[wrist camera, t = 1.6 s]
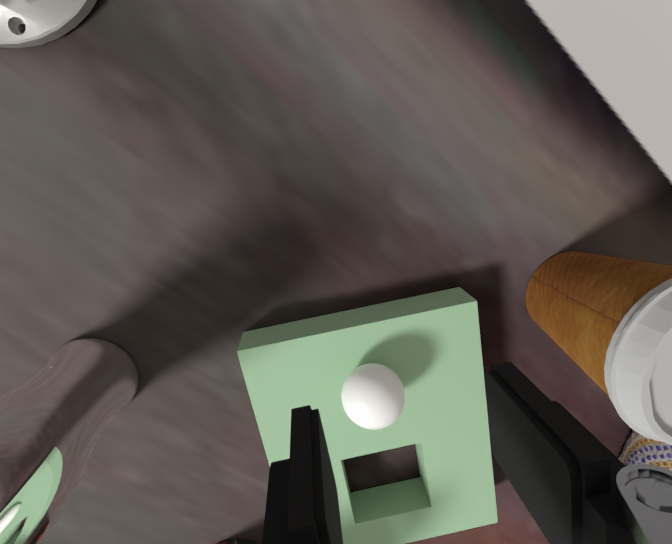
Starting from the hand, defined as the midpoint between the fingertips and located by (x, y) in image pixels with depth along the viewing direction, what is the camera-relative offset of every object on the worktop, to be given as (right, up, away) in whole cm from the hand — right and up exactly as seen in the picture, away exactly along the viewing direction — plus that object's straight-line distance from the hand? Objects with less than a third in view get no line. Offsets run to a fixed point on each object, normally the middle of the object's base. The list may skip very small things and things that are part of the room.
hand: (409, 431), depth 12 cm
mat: (+1, -8, +20) cm, 22 cm away
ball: (0, -3, +14) cm, 14 cm away
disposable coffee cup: (+15, +3, +19) cm, 24 cm away
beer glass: (-19, -3, +17) cm, 26 cm away
